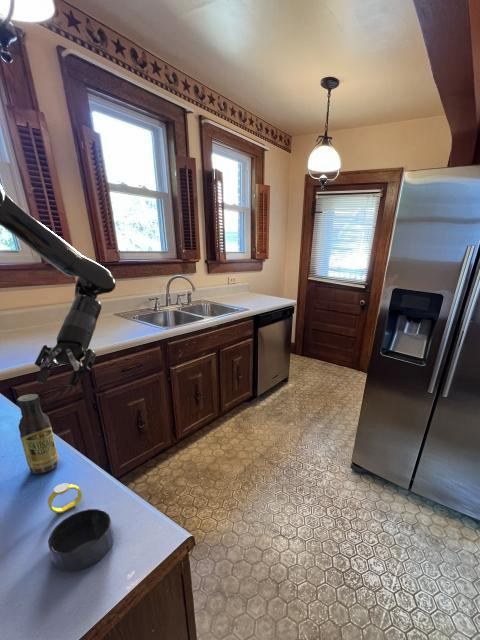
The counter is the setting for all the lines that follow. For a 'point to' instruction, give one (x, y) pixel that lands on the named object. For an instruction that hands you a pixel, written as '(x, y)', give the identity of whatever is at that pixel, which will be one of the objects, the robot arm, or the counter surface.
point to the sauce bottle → (36, 435)
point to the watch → (60, 490)
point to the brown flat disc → (47, 471)
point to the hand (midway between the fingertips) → (56, 384)
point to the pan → (81, 540)
